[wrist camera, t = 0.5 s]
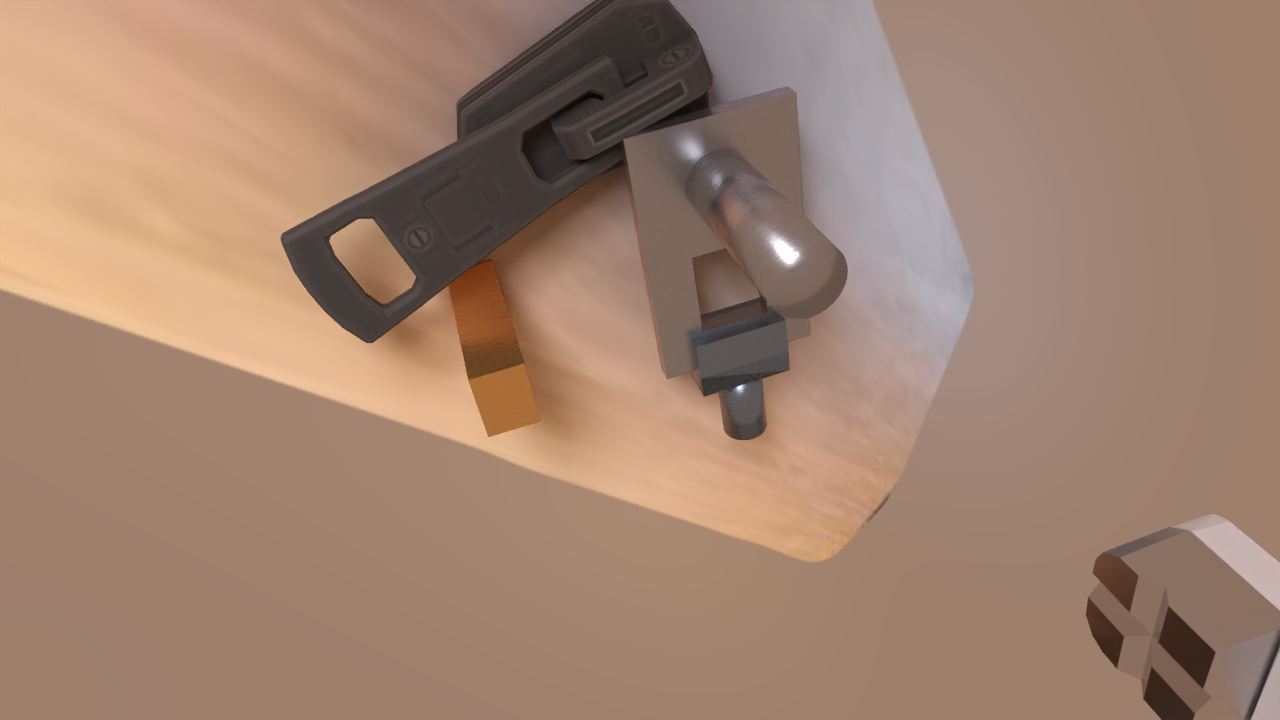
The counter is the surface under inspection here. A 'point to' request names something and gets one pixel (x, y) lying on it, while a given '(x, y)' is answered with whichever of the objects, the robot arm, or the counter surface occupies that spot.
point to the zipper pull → (512, 154)
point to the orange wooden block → (492, 351)
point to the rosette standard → (729, 245)
